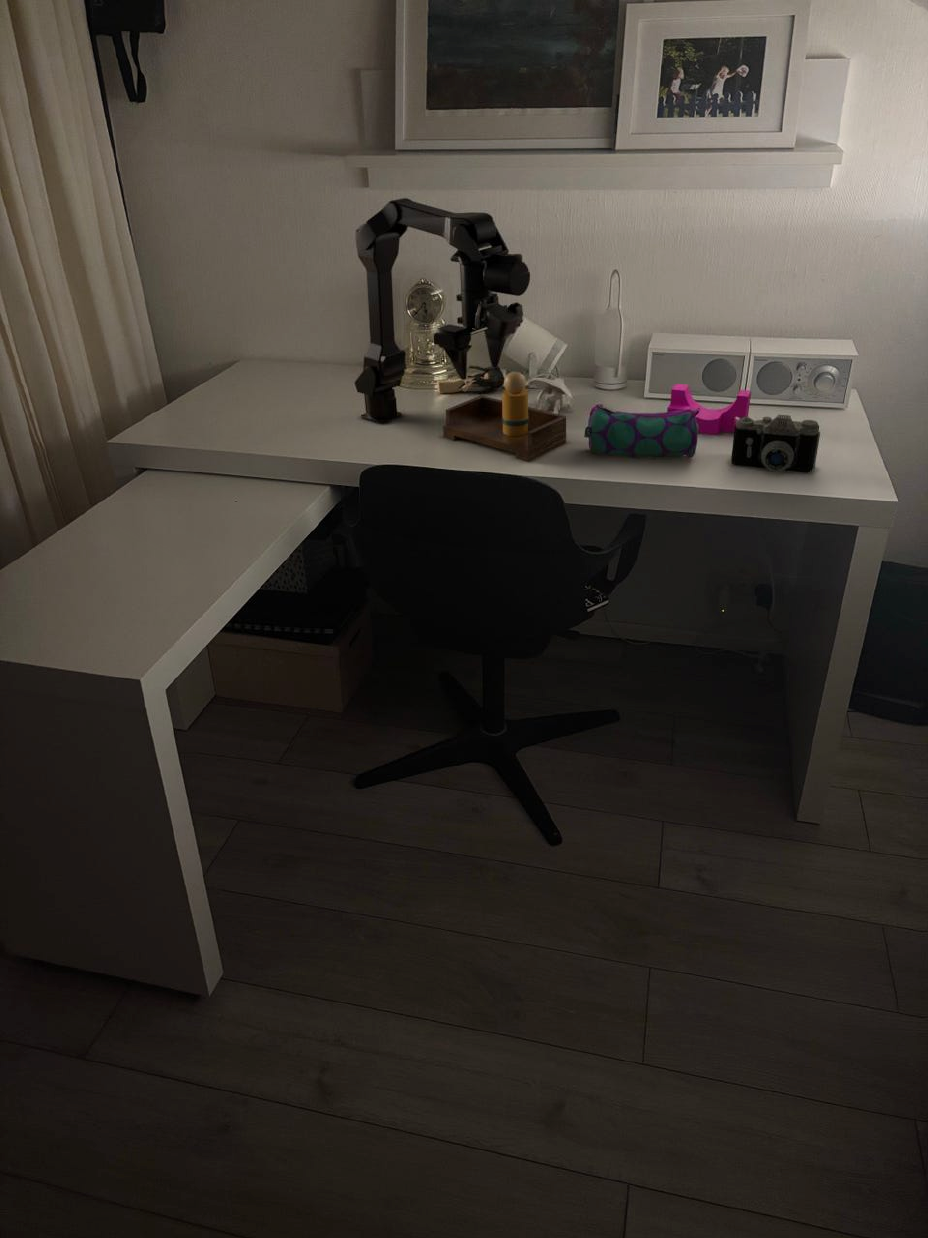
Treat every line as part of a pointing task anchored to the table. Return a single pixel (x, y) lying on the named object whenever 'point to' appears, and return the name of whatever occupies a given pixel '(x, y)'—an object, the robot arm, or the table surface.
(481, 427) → the wooden desk tray
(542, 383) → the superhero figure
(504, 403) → the doll
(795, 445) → the camera
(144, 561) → the table surface
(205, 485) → the table surface
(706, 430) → the toy block
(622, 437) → the pencil case
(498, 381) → the toy figure
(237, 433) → the table surface
